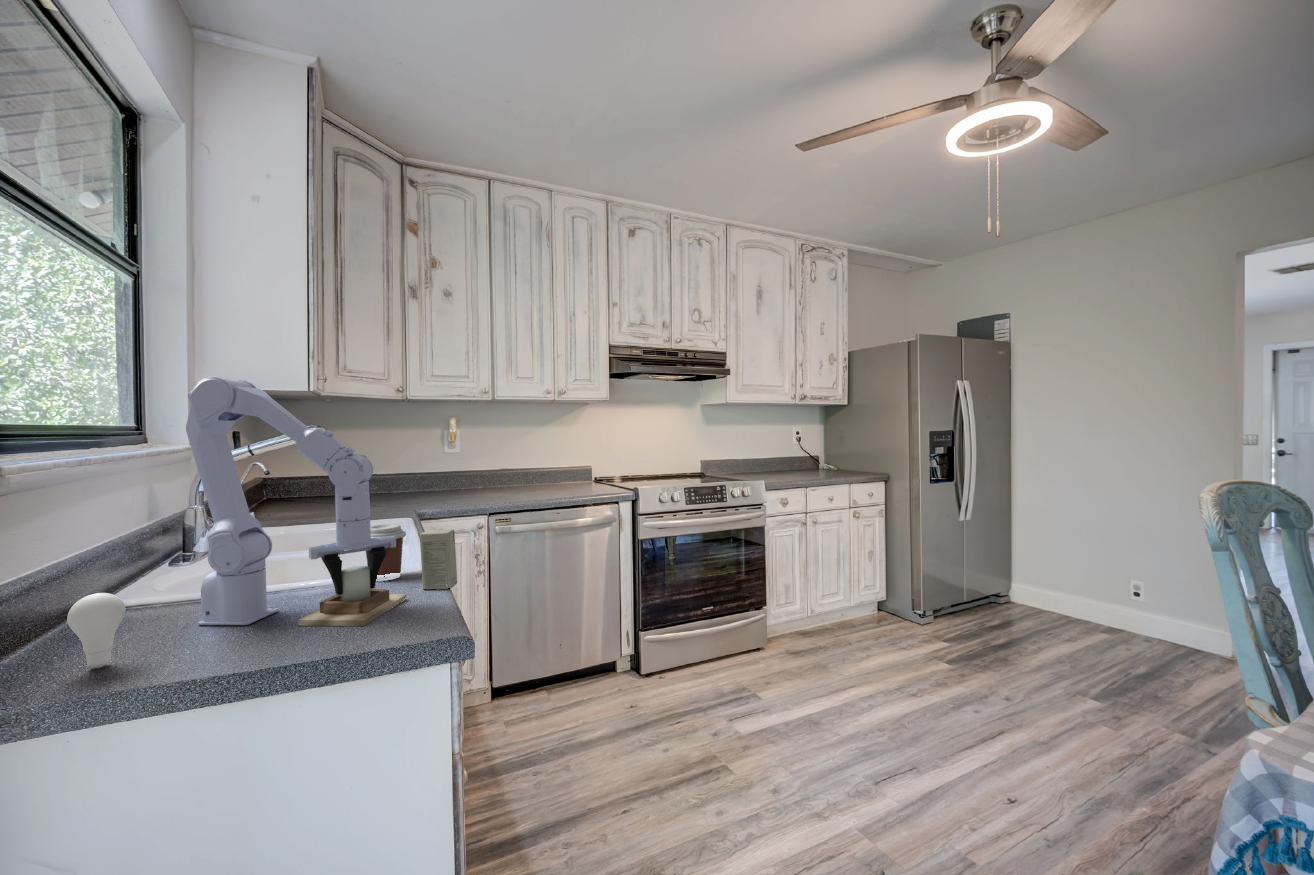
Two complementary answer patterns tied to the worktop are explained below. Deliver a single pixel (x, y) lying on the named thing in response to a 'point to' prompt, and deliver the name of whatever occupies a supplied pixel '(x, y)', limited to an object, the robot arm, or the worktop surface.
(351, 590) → the sage cap
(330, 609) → the socket board
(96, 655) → the lightbulb
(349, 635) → the worktop surface
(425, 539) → the skincare box
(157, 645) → the worktop surface
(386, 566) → the coffee cup
